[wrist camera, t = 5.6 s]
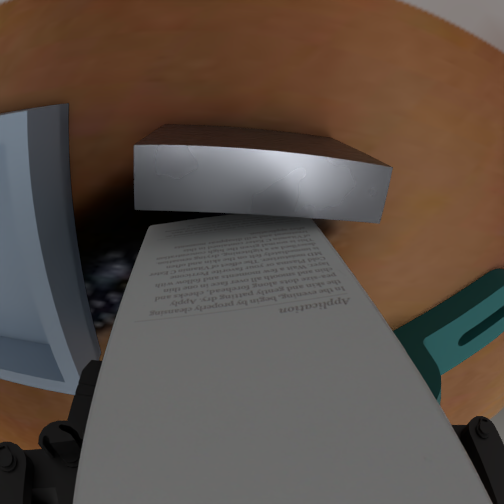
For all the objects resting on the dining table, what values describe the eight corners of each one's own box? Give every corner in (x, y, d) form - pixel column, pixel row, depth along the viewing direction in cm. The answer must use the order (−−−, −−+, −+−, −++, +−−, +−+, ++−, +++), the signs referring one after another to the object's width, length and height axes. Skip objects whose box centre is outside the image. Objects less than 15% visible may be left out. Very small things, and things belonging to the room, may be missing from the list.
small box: (304, 346, 16) (382, 585, 5) (185, 362, 16) (193, 614, 5) (305, 199, 13) (527, 550, 1) (146, 220, 12) (51, 627, 1)
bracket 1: (169, 345, 20) (161, 422, 15) (164, 124, 14) (133, 144, 8) (290, 346, 21) (310, 419, 16) (332, 138, 15) (392, 167, 9)
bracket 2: (348, 400, 26) (375, 473, 19) (327, 361, 23) (360, 449, 16) (505, 307, 23) (551, 358, 17) (510, 254, 20) (569, 307, 13)
